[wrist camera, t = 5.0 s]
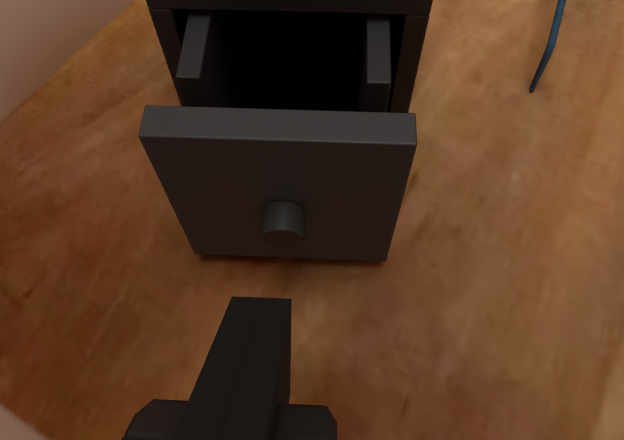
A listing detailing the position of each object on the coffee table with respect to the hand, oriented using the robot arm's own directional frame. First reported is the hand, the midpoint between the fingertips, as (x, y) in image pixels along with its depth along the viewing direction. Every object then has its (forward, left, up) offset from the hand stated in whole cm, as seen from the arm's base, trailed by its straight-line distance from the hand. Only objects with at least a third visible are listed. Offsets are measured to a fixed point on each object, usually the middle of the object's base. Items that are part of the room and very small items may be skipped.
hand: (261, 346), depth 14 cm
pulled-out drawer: (-10, +5, -8) cm, 14 cm away
